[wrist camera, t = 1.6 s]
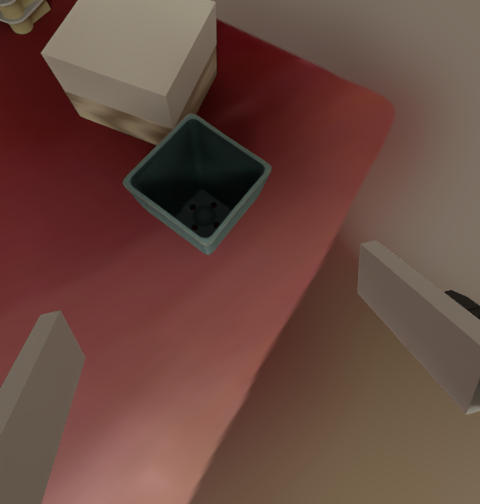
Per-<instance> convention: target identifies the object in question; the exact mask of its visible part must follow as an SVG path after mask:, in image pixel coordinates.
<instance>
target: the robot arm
mask: <svg viewBox="0 0 480 504" xmlns="http://www.w3.org/2000/svg"><path fill="white" fill-rule="evenodd" d="M358 274H359V275H358V290H357V293H358V294H359V295H360V296H361V297H362V298H363V299H364V301H366V303H367V304H368V305H369V306H370V307H371V308H372V310H373V311H374V312H375V313H376V314H377V315H378V316H379V317H380V319H381V320H382V321H383V322H384V323H385V324H386V325H387V326H388V327H389V329H391V331H392V332H393V333H394V334H395V335H396V336H397V338H398V339H399V340H400V341H401V342H402V343H403V344H404V345H405V347H407V349H408V350H409V351H410V352H411V353H412V354H413V356H414V357H415V358H416V359H417V360H418V361H419V362H420V363H421V364H422V366H423V367H424V368H425V369H426V370H427V371H428V372H429V374H430V375H431V376H432V377H433V378H434V379H435V380H436V381H437V382H438V384H439V385H440V386H441V387H442V388H443V389H444V390H445V391H446V393H447V394H448V395H449V396H450V397H451V398H452V399H453V400H454V402H455V403H456V404H457V405H458V406H459V407H460V408H461V409H462V410H463V412H464V413H465V414H466V415H467V414H470V413H474V412H477V411H480V306H479V305H478V304H476V303H475V302H474V301H472V300H471V299H469V298H468V297H466V296H464V295H461V294H459V293H457V292H454V291H452V290H450V291H446V292H443V291H441V290H440V289H439V288H438V287H436V286H435V285H434V284H432V283H431V282H430V281H428V280H427V279H426V278H425V277H423V276H422V275H421V274H419V273H418V272H417V271H415V270H414V269H413V268H412V267H410V266H409V265H408V264H406V263H405V262H404V261H402V260H401V259H400V258H398V257H397V256H396V255H395V254H393V253H392V252H391V251H389V250H388V249H387V248H385V247H384V246H383V245H382V244H380V243H379V242H378V241H376V240H375V241H371V242H366V243H362V244H360V258H359V273H358ZM84 361H85V356H84V354H83V352H82V350H81V348H80V346H79V344H78V343H77V341H76V339H75V337H74V335H73V333H72V331H71V330H70V328H69V326H68V324H67V322H66V320H65V318H64V317H63V315H62V313H61V311H56V312H51V313H47V314H42V315H40V317H39V319H38V321H37V322H36V324H35V326H34V328H33V330H32V332H31V333H30V335H29V337H28V339H27V341H26V342H25V344H24V346H23V348H22V350H21V352H20V353H19V355H18V357H17V359H16V361H15V363H14V364H13V366H12V368H11V370H10V372H9V373H8V375H7V377H6V379H5V381H4V383H3V384H2V386H1V388H0V504H41V503H42V500H43V496H44V493H45V490H46V486H47V483H48V480H49V476H50V473H51V470H52V466H53V463H54V460H55V457H56V453H57V450H58V447H59V443H60V440H61V437H62V433H63V430H64V427H65V424H66V420H67V417H68V414H69V410H70V407H71V404H72V400H73V397H74V394H75V390H76V387H77V384H78V381H79V377H80V374H81V371H82V367H83V364H84Z"/></svg>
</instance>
